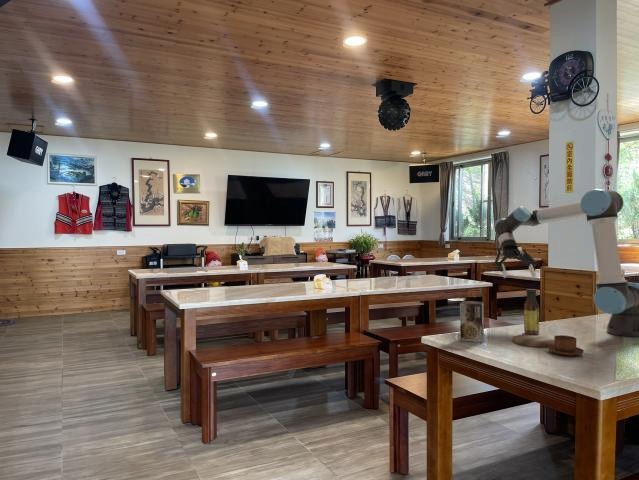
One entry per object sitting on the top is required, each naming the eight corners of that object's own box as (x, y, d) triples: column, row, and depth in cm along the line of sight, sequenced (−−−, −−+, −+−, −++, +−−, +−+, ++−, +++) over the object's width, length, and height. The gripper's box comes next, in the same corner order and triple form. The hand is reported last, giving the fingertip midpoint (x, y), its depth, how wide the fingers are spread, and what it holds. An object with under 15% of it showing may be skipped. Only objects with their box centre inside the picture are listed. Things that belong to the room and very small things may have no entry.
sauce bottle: (540, 335, 207) (541, 290, 206) (525, 334, 208) (525, 290, 208) (537, 332, 213) (537, 288, 213) (522, 331, 214) (522, 288, 214)
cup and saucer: (582, 359, 167) (582, 342, 167) (545, 355, 173) (545, 338, 173) (584, 352, 177) (584, 336, 177) (549, 348, 184) (549, 332, 184)
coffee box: (484, 340, 198) (484, 301, 198) (482, 343, 192) (482, 303, 192) (461, 338, 202) (461, 300, 201) (459, 341, 196) (459, 302, 196)
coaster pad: (561, 342, 192) (561, 339, 192) (546, 349, 181) (546, 345, 181) (522, 336, 204) (522, 333, 204) (506, 342, 192) (506, 339, 192)
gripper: (530, 248, 239) (543, 281, 225) (481, 248, 240) (491, 281, 225) (535, 238, 234) (549, 271, 219) (485, 238, 234) (495, 271, 219)
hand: (519, 276), depth 222 cm, fingers open, 13 cm apart
